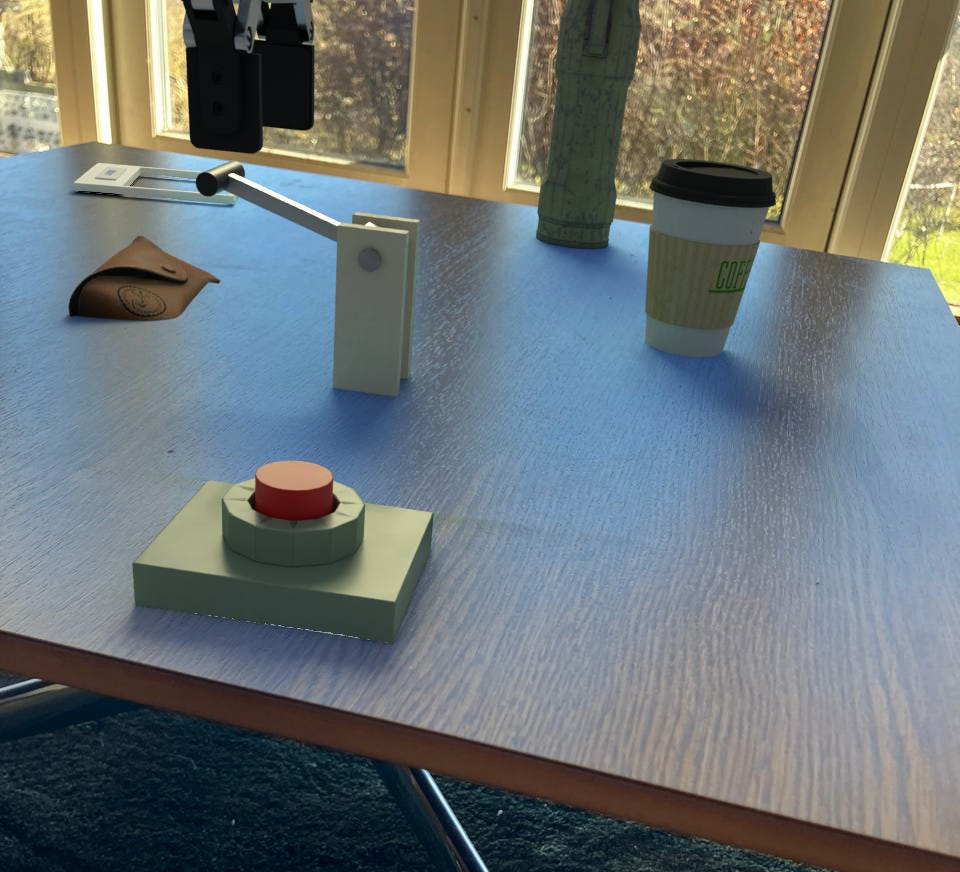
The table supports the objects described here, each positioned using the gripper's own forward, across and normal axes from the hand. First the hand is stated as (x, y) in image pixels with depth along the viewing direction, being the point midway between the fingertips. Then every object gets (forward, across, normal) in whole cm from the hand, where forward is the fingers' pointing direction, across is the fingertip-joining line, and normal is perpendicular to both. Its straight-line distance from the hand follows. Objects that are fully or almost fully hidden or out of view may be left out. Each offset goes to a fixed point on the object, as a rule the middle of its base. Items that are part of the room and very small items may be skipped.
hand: (257, 138), depth 55 cm
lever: (+8, -17, -2) cm, 19 cm away
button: (+15, +10, +4) cm, 19 cm away
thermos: (+18, -82, +14) cm, 85 cm away
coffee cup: (+19, -36, +25) cm, 48 cm away
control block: (+18, +10, +4) cm, 21 cm away
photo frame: (+17, -83, -36) cm, 92 cm away
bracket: (+18, -17, +3) cm, 25 cm away
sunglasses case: (+18, -32, -18) cm, 41 cm away
